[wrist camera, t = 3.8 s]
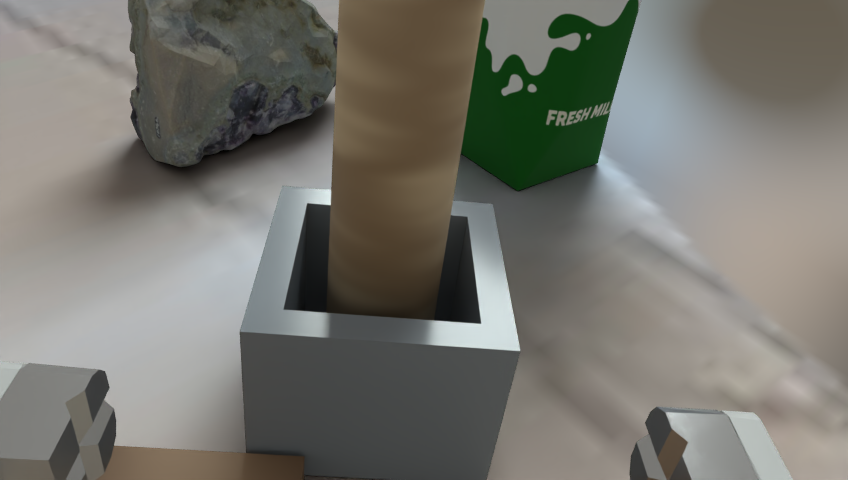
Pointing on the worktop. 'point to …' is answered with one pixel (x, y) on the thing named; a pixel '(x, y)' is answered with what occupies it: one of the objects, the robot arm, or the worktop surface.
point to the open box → (377, 357)
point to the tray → (199, 465)
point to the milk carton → (544, 85)
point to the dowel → (397, 150)
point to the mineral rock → (225, 71)
